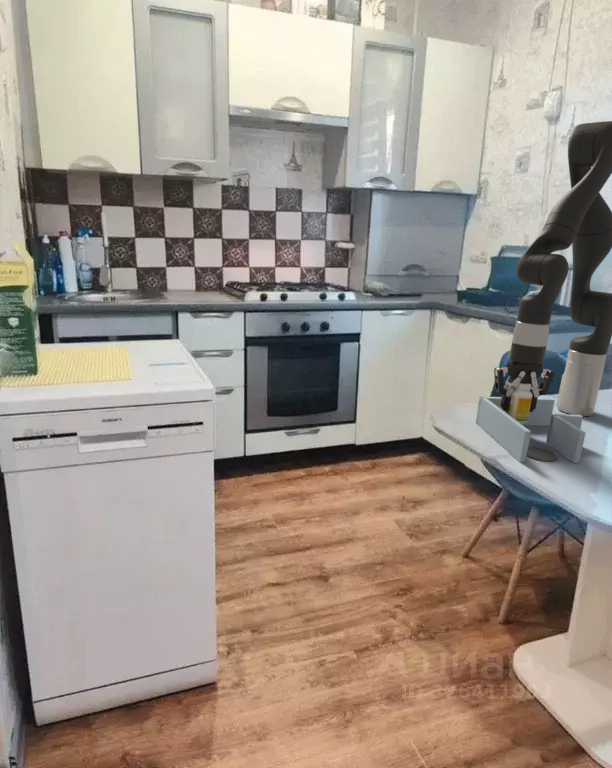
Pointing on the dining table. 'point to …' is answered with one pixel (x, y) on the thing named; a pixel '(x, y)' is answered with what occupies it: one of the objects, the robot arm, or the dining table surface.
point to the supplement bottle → (520, 403)
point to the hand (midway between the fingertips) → (517, 410)
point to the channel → (516, 436)
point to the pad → (541, 454)
